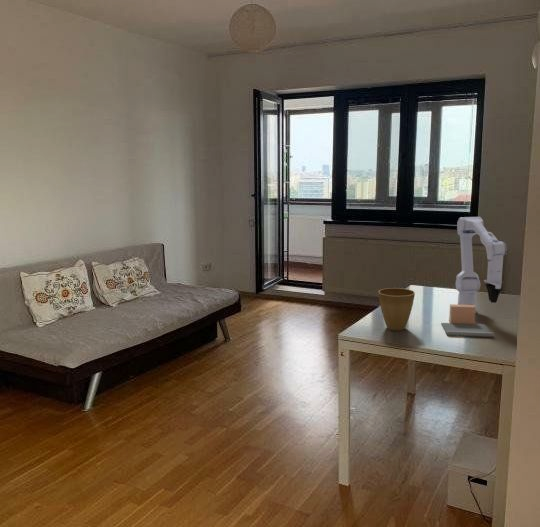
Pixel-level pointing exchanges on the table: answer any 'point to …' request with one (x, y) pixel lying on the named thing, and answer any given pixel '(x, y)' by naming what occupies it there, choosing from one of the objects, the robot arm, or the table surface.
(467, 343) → the table surface
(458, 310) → the terracotta block
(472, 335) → the mat
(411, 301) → the plant pot
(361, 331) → the table surface
